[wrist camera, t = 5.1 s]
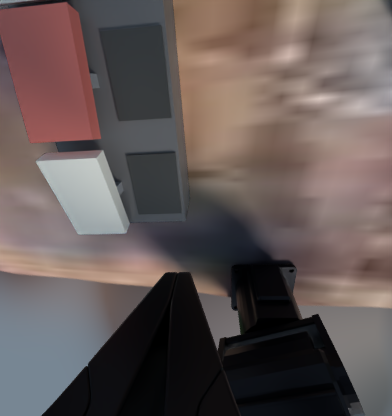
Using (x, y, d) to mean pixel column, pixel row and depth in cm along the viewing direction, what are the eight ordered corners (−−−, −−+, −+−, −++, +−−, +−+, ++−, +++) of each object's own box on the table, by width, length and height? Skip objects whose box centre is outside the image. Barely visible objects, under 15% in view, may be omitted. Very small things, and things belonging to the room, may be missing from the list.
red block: (101, 138, 13) (92, 139, 12) (42, 142, 14) (30, 143, 13) (78, 12, 11) (66, 1, 10) (11, 20, 12) (-7, 10, 11)
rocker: (129, 223, 17) (126, 233, 16) (84, 225, 18) (78, 234, 17) (102, 149, 13) (96, 158, 13) (45, 153, 14) (35, 161, 13)
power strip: (190, 198, 21) (184, 226, 16) (104, 201, 21) (78, 229, 17) (160, -133, 12) (132, -255, 8) (17, -111, 13) (-83, -211, 8)
